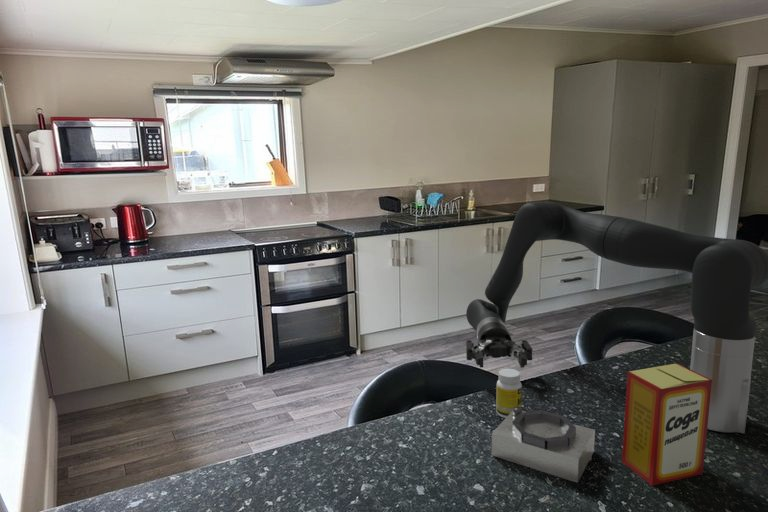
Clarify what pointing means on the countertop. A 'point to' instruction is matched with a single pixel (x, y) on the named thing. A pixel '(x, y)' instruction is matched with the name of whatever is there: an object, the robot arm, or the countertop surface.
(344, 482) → the countertop surface
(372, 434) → the countertop surface
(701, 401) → the baking soda box
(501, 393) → the supplement bottle
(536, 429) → the octagon ring base plate
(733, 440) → the countertop surface
